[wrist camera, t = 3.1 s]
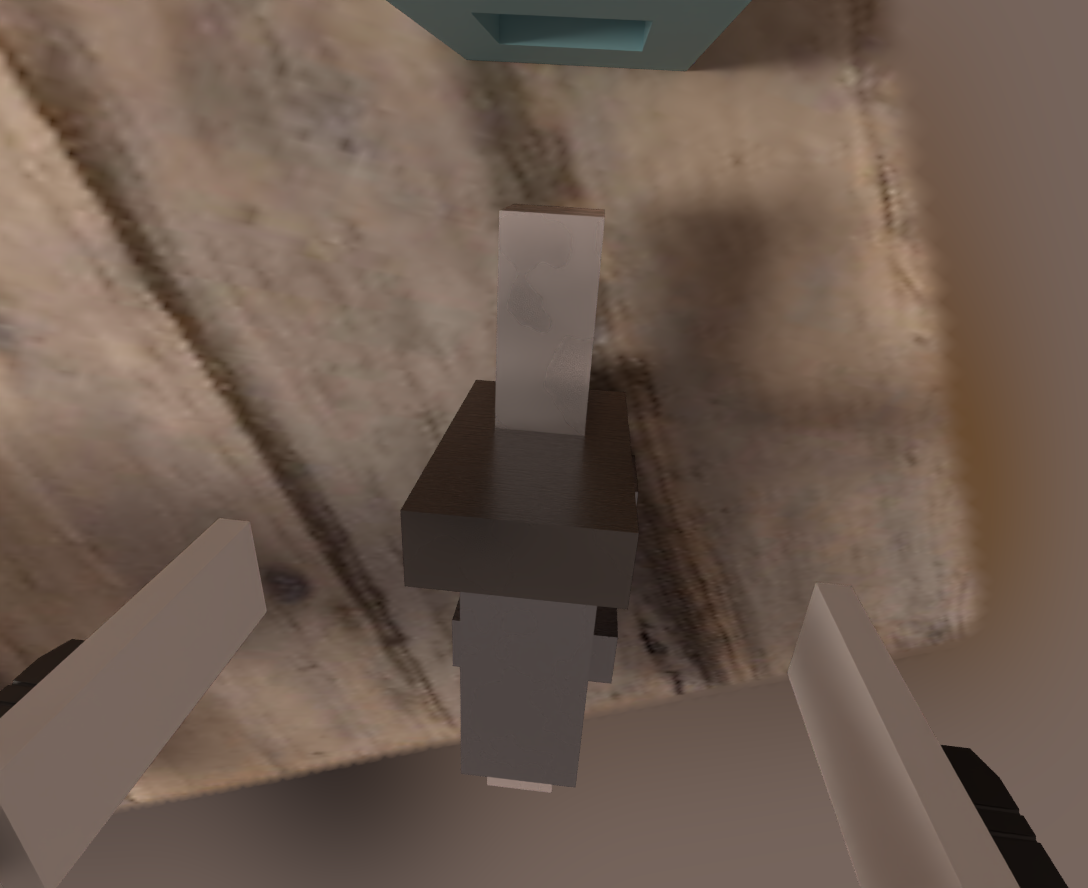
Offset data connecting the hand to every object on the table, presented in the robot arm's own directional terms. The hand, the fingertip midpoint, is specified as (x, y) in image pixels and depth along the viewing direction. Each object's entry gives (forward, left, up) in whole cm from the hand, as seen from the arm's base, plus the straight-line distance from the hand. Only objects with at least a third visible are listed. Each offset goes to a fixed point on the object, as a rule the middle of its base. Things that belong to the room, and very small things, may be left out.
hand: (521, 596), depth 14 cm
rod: (-5, 0, -11) cm, 12 cm away
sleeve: (-8, 0, -14) cm, 17 cm away
